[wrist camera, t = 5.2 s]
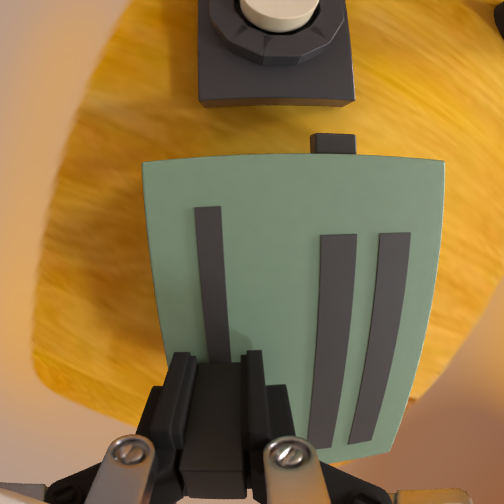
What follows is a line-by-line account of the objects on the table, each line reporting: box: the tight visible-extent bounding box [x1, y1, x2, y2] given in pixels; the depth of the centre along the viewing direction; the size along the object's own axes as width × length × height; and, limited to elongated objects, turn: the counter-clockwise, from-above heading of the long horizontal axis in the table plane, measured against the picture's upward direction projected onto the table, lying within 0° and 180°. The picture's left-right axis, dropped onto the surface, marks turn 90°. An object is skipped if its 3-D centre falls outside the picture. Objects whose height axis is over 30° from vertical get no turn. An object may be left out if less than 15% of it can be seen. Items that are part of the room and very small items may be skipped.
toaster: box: [142, 133, 445, 464], centre depth 15 cm, size 15×10×9 cm
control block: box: [198, 0, 355, 108], centre depth 14 cm, size 10×8×4 cm
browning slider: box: [179, 362, 247, 499], centre depth 9 cm, size 2×2×5 cm
